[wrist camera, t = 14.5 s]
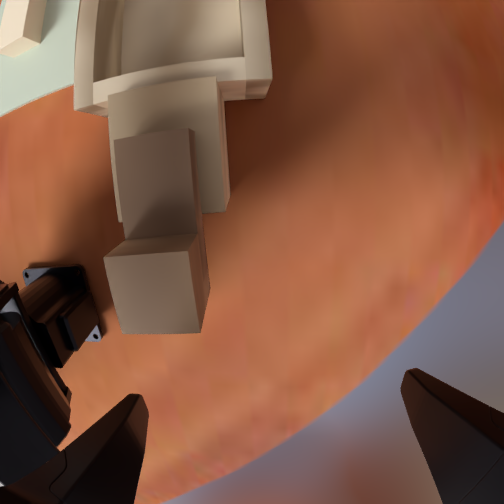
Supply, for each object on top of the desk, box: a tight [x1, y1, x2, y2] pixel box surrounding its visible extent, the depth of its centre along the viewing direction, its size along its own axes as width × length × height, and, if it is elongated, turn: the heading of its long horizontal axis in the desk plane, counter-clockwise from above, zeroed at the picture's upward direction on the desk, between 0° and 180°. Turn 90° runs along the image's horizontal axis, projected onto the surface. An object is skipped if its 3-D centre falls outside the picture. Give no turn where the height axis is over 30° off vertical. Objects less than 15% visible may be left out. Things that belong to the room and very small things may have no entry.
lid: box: [0, 0, 81, 117], centre depth 13 cm, size 10×14×4 cm
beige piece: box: [74, 0, 273, 222], centre depth 13 cm, size 10×20×6 cm, turn 4°
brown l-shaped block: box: [103, 128, 210, 334], centre depth 11 cm, size 3×7×4 cm, turn 4°
